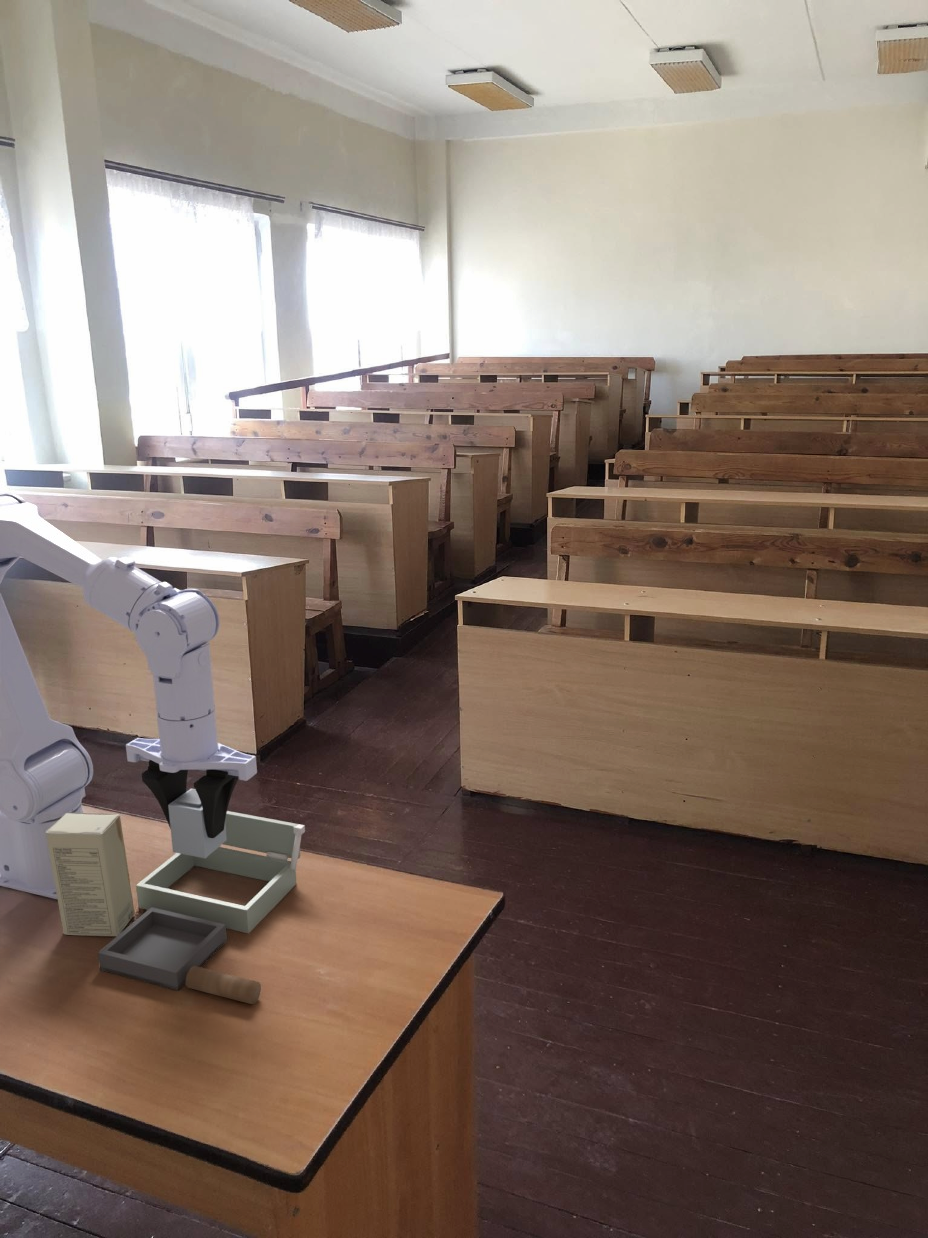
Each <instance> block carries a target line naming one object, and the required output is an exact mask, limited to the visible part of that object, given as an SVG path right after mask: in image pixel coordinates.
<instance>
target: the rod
mask: <svg viewBox="0 0 928 1238" xmlns="http://www.w3.org/2000/svg"><path fill="white" fill-rule="evenodd" d="M185 986H186V987H187V988H189V989H192V990H196V991H199V992H204V993H207V994H211V995H215V996H219V997H223V998H226V999H230V1000H234V1001H238V1002H241V1003H245V1004H250V1005H255V1004H256V1002H257V1001H258V1000H259V998H260V995H261V990H262V984H261V983H260V982H259V981H255V980H252V979H248V978H243V977H240V976H237V975H233V974H229V973H226V972H225V973H224V972H222V971H221V972H220V971H217V970H212V969H210V968H206V967H205V968H204V967H197V966H193V967H192V968H191V969H190V970H189V972H188V974H187V976H186V983H185Z"/></svg>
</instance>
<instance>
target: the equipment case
mask: <svg viewBox="0 0 928 1238" xmlns="http://www.w3.org/2000/svg"><path fill="white" fill-rule="evenodd" d="M225 825H226V838H227V840H226V841H225V842H224V843H223V844H222V845H224V846H227V847H228V846H229V847H234V848H238V849H243V850H248V851H252V852H253V851H254V852H257V853H258V852H259V853H263V854H266V855H260V854H256V853H252V852H247V851H242V850H237V849H236V850H235V849H233V848H232V849H231V848H227V847H222V846H219V847H218V848H217V849H216V850H215V851H213V852H212V853H211V854H210V855H209V856H208V857H206V858H201V857H196V856H190V855H185V854H180V853H174V854H173V855H172V856H170V858H168V859H167V860H166V861H165V862H163V863H162V864H161V865H159V866H158V867H157V868H156V869H155V870H153V871H152V872H150V873H149V874H148V875H147V876H145V877H144V878H143V879H142V880H141V881H139V882H138V883H137V884H136V885H135V890H136V897H137V898H136V899H137V907H138V908H139V909H143V910H146V911H147V910H149V909H150V908H151V907H153V908H157V909H161V910H165V911H170V912H174V913H178V914H183V915H187V916H191V917H195V918H200V919H204V920H208V921H213V922H217V923H221V924H225V926H226V929H229V930H232V931H236V932H240V933H241V932H242V933H245V934H250V933H251V932H252V931H253V929H255V928H256V927H257V926H258V924H260V922H261V921H263V919H265V917H266V916H267V915H268V914H269V913H270V912H271V911H272V910H273V909H274V908H275V907H276V906H277V905H278V904H279V903H280V902H281V900H283V898H285V896H286V895H288V893H289V892H290V891H291V890H292V889H294V887H295V886H296V885H297V873H296V870H297V866H298V860H299V859H300V858H301V840H302V836H303V834H304V833H306V826H305V824H299V823H293V822H290V821H289V822H288V821H285V820H284V821H283V820H278V819H273V818H266V817H263V816H262V817H261V816H256V815H251V814H246V813H240V812H235V811H229V810H227V813H226V819H225ZM288 859H291V860H288ZM193 867H200V868H205V869H209V870H213V871H219V872H224V873H228V874H233V875H236V876H241V877H242V876H243V877H247V878H251V879H256V880H261V881H265V882H268V883H266V885H264V887H263V888H262V889H260V891H259V892H258V893H256V895H254V896H253V898H252V899H250V901H248V902H247V903H246V905H243V904H237V903H233V902H228V901H223V900H220V899H216V898H210V897H206V896H201V895H196V894H192V893H189V892H183V891H180V890H176V889H175V890H174V889H170V887H171V886H172V885H174V883H176V882H177V881H178V880H179V879H180V878H181V877H182V876H184V875H185V874H187V872H189V871H190V870H191V869H192V868H193Z"/></svg>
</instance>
